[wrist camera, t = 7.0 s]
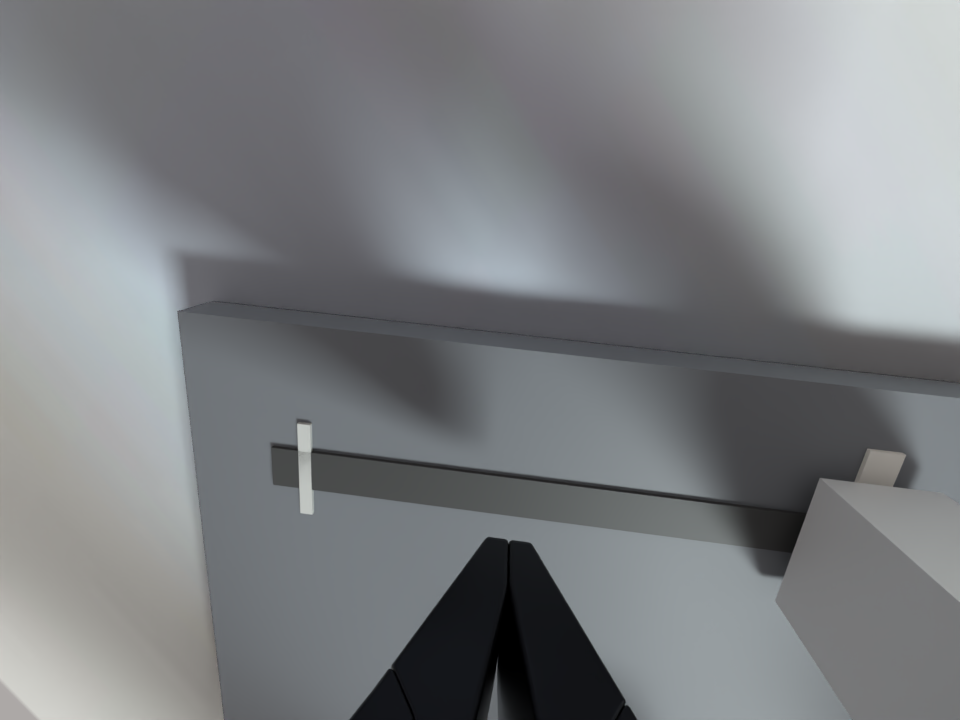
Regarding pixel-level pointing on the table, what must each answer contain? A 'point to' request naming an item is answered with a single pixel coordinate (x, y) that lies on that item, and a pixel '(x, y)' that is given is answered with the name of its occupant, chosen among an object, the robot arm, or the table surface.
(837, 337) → the table surface
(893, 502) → the fader
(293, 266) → the table surface
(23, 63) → the table surface
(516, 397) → the console
